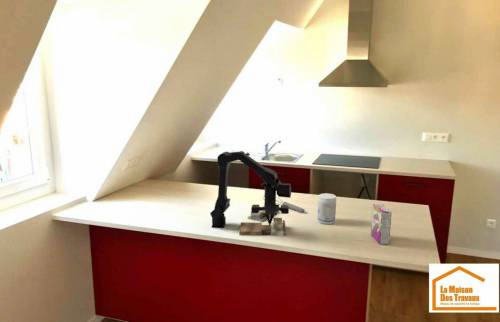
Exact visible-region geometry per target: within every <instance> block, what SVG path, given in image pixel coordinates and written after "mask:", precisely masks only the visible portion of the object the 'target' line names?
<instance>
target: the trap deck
mask: <svg viewBox="0 0 500 322" xmlns="http://www.w3.org/2000/svg"><path fill="white" fill-rule="evenodd" d="M286 228H287V227H286V221H285V219H282V229H273V222H271V225H269V224H263V222H252V221H251V222H247V221H244V222H243V221H242V222H240V226H239V231H238V233H239V236H271V237H273V236H274V237H275V236H276V237H281V236H282V237H286V235H287V234H286Z"/></svg>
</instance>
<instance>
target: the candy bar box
mask: <svg viewBox="0 0 500 322" xmlns="http://www.w3.org/2000/svg"><path fill="white" fill-rule="evenodd" d="M371 209H372V212H371V227H370V236H371V237H372V238H373V239H374V240H375V241H376V242H377V244H378V245H381V246H384V245H390V241H391V238H390V237H391V228H392V227H391V224H392V210H390V209H389V208H388V207H386V206H385V205H383V204H382V203H374V204H372V207H371Z"/></svg>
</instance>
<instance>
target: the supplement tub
mask: <svg viewBox="0 0 500 322" xmlns="http://www.w3.org/2000/svg"><path fill="white" fill-rule="evenodd" d="M317 199H318V200H317V222H318V223H320V224H323V225H331V224H335V222H336V213H337V212H336V211H337V209H336V208H337V196H336V195H335V194H333V193H327V192H325V193H320V194H319V195H318V198H317Z"/></svg>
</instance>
